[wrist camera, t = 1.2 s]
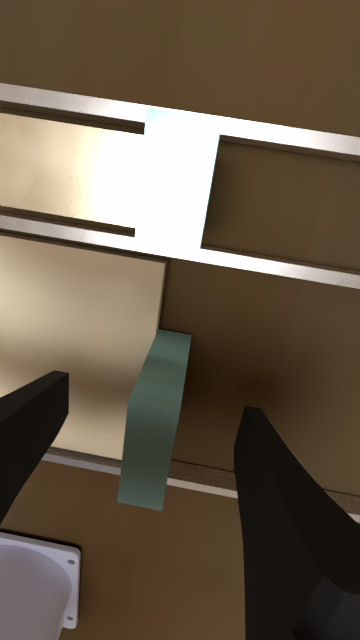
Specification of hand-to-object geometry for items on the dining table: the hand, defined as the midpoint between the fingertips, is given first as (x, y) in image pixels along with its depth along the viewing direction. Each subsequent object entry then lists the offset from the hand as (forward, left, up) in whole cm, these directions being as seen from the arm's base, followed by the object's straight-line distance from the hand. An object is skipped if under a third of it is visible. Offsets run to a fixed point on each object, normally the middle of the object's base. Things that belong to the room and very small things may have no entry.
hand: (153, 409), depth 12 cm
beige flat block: (0, +10, -3) cm, 11 cm away
